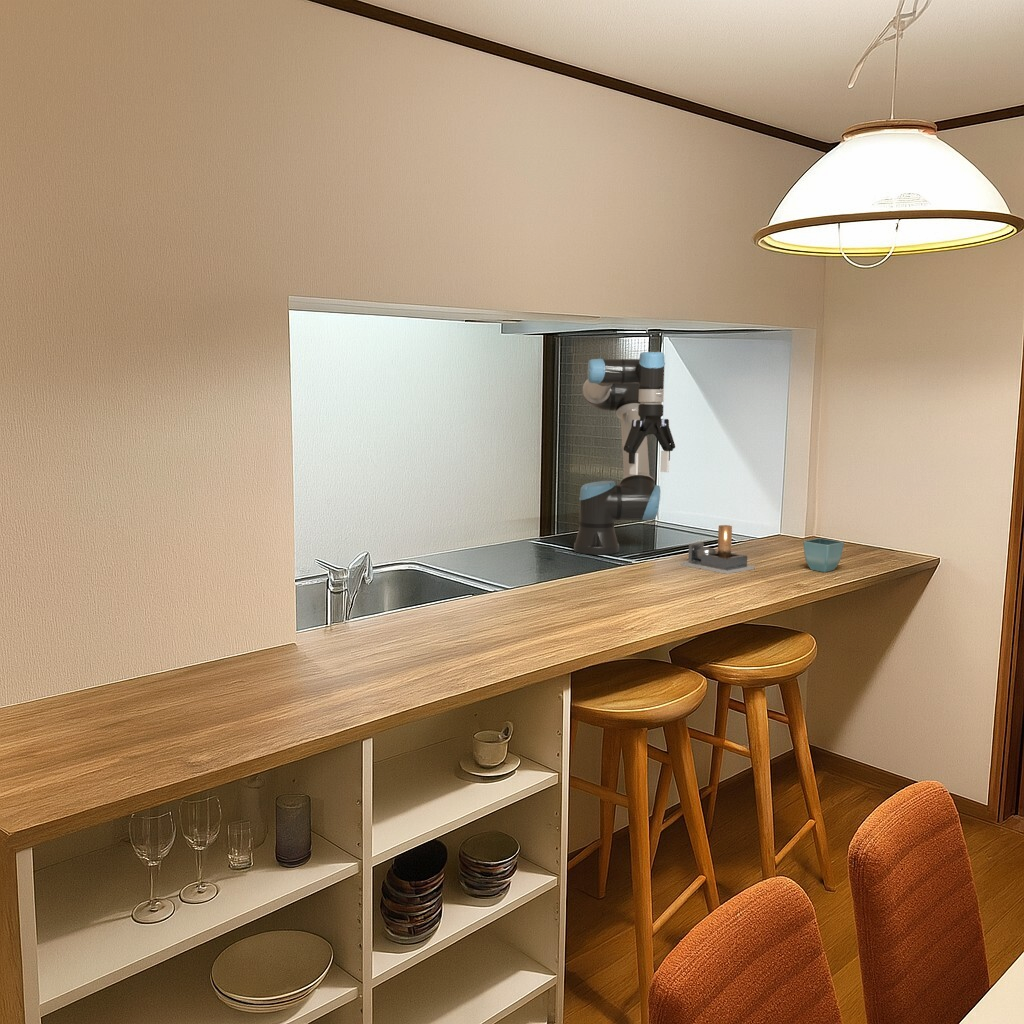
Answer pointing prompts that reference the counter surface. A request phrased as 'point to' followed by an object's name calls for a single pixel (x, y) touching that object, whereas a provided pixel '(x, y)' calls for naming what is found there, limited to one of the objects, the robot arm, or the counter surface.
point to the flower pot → (823, 554)
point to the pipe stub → (724, 541)
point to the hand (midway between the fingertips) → (649, 473)
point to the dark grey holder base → (715, 560)
